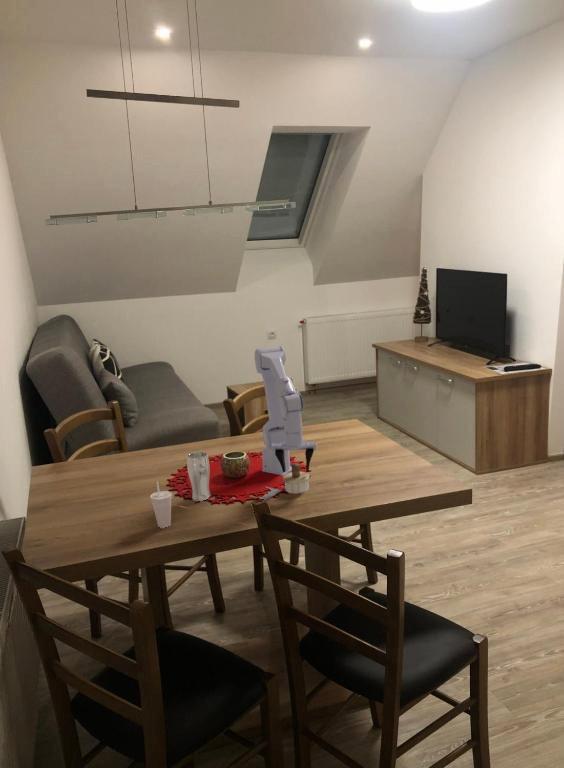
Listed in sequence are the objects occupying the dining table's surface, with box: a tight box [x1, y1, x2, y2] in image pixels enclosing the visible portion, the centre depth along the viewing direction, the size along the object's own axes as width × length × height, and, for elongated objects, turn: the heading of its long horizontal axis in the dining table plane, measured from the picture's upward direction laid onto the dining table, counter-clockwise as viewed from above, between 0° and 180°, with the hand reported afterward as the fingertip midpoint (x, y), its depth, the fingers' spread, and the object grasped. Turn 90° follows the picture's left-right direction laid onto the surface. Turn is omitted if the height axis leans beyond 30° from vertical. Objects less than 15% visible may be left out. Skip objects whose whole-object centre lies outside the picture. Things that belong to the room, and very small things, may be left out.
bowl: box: [284, 480, 310, 495], centre depth 208 cm, size 8×8×4 cm
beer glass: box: [186, 451, 212, 502], centre depth 205 cm, size 7×7×15 cm
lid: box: [282, 462, 310, 484], centre depth 207 cm, size 9×9×5 cm
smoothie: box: [149, 480, 173, 529], centre depth 187 cm, size 6×6×14 cm
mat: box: [255, 486, 283, 502], centre depth 207 cm, size 9×9×1 cm
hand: (295, 470), depth 207 cm, fingers open, 7 cm apart
